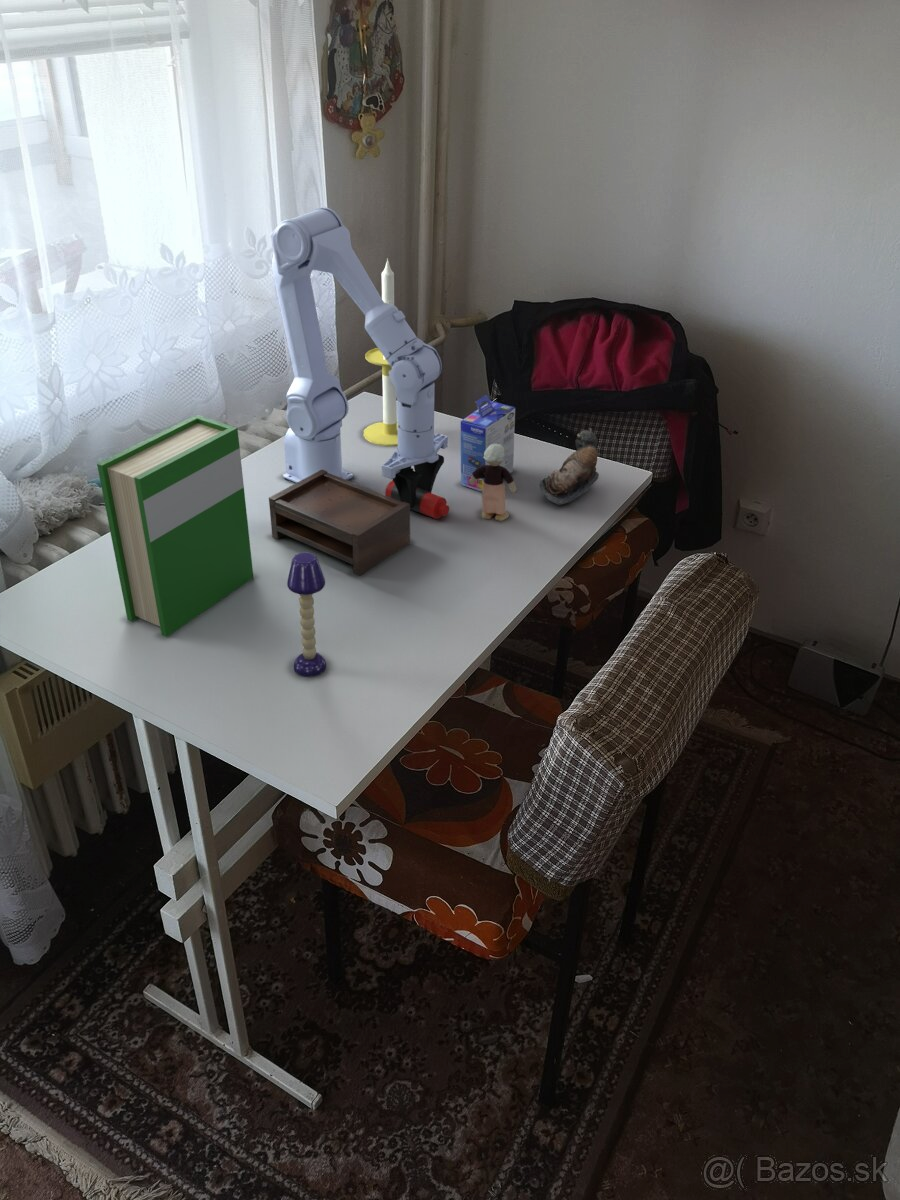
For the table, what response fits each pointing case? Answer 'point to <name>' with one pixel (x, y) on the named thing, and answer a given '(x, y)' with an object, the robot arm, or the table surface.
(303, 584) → the toy lamp
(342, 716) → the table surface
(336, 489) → the shelf
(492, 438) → the ink cartridge box
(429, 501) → the thermos
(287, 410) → the robot arm
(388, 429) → the candle
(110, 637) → the table surface
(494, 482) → the grandmother figurine
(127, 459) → the hardback book
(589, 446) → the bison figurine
